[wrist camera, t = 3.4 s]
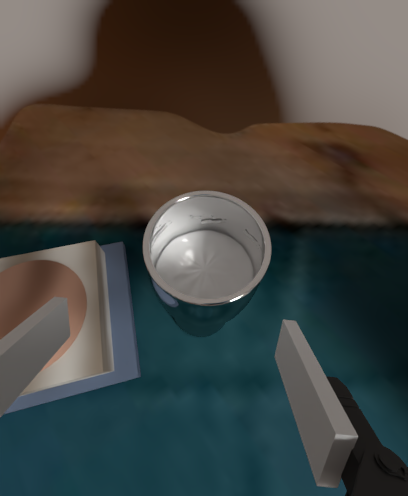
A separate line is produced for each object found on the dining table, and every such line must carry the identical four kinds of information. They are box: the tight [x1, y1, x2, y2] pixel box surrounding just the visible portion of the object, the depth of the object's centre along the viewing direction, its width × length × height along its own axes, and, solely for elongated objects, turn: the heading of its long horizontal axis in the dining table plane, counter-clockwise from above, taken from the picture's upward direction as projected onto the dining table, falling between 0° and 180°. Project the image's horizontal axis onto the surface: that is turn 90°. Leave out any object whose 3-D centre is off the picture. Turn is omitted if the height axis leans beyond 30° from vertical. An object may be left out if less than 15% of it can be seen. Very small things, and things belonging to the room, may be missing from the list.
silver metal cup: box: [143, 191, 271, 337], centre depth 19 cm, size 7×7×15 cm
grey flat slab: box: [4, 242, 141, 414], centre depth 24 cm, size 16×14×1 cm
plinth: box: [0, 240, 114, 397], centre depth 22 cm, size 12×12×3 cm
